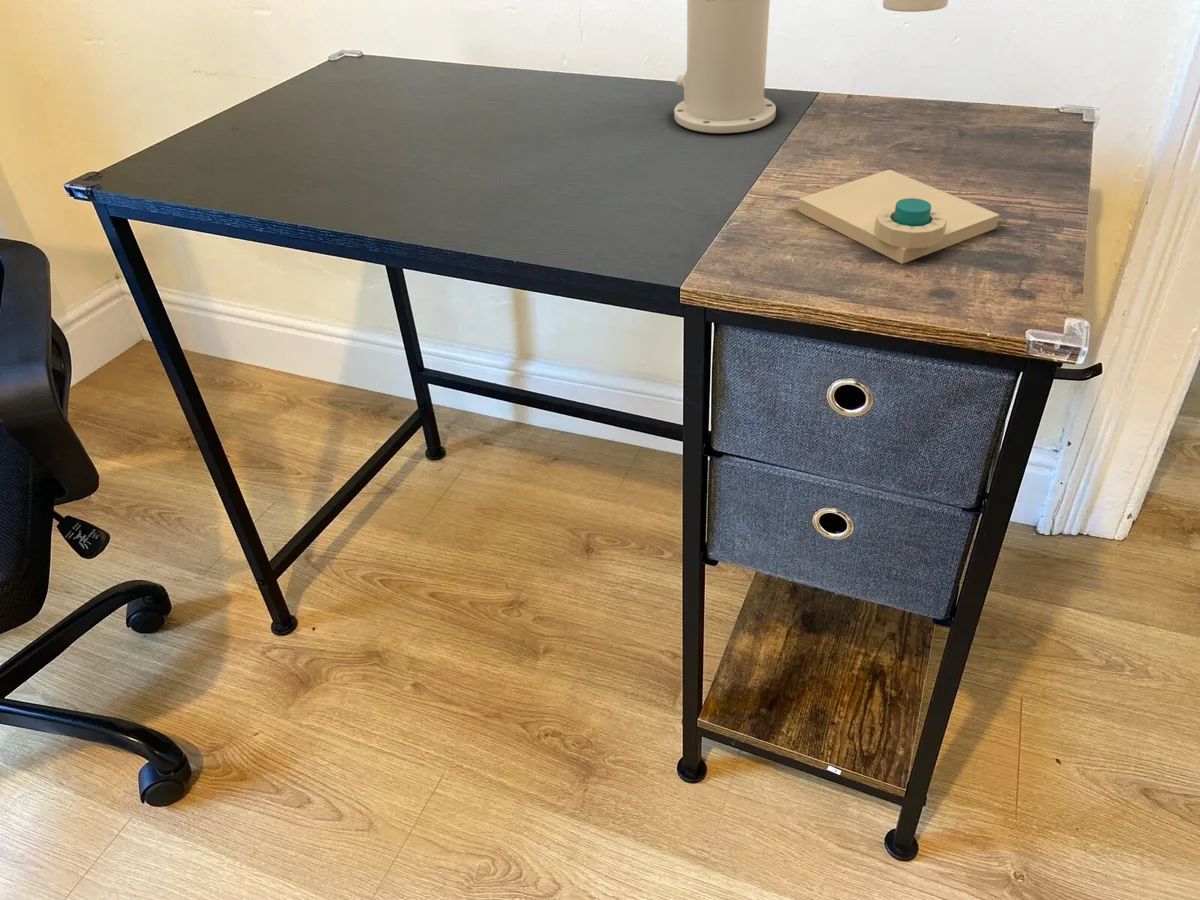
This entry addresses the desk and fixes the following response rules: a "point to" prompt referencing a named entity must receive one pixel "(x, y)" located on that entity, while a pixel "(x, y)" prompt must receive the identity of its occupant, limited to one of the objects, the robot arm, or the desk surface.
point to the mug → (914, 5)
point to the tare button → (912, 212)
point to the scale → (871, 212)
